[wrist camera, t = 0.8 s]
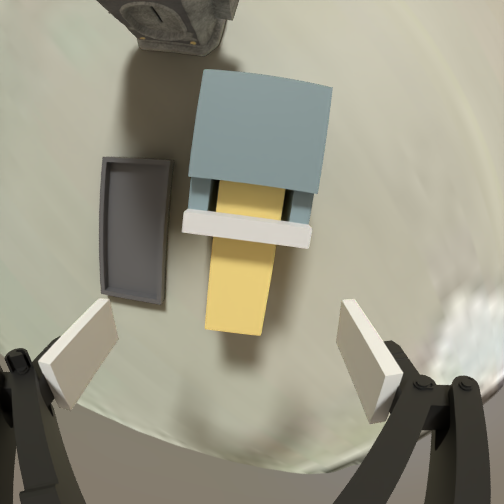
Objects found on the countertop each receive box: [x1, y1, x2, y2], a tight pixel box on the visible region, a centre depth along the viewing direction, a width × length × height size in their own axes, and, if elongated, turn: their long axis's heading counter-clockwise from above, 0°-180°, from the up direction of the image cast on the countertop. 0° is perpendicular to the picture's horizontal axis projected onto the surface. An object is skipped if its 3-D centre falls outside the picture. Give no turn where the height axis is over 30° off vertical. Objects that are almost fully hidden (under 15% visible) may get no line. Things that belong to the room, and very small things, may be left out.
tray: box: [99, 157, 174, 305], centre depth 34 cm, size 9×18×2 cm, turn 172°
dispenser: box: [182, 69, 332, 249], centre depth 26 cm, size 9×12×14 cm
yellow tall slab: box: [205, 180, 285, 336], centre depth 30 cm, size 5×14×12 cm, turn 172°
